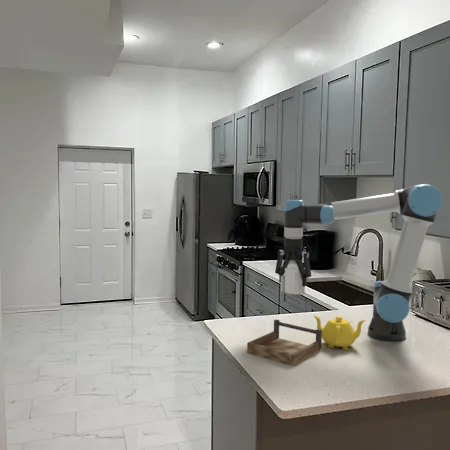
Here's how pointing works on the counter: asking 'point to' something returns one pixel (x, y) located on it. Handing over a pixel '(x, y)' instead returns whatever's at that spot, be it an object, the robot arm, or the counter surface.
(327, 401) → the counter surface
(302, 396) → the counter surface
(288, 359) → the wooden serving tray
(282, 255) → the robot arm
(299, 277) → the mug
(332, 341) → the teapot
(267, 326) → the counter surface
